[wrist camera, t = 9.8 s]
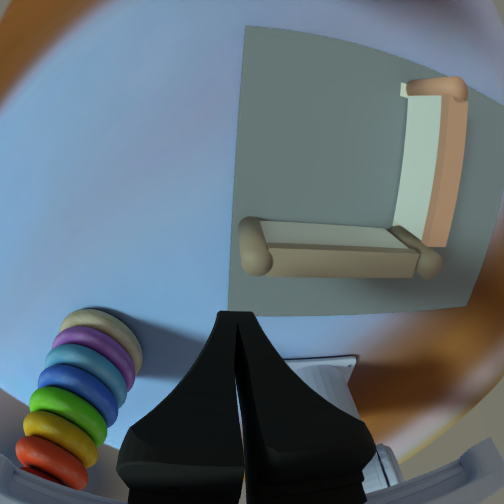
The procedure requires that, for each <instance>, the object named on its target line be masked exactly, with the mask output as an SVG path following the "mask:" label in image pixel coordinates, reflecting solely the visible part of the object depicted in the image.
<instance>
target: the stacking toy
mask: <svg viewBox="0 0 504 504" xmlns="http://www.w3.org/2000/svg"><path fill="white" fill-rule="evenodd" d="M142 363H143V353H142V349H141V346H140V343H139V341H138V340H137V338H136V336H135V335H134V334H133V332H132V331H131V330H130V329H129V328H128V327H127V326H126V325H125V324H124V323H122V322H121V321H120V320H118V319H117V318H115V317H113V316H112V315H109V314H107V313H105V312H102V311H99V310H93V309H82V310H77V311H74V312H72V313H71V314H69V315H68V316H67V317H66V318H65V319H64V320H63V322H62V324H61V326H60V331H59V334H58V335H57V336H56V338H55V340H54V342H53V346H52V350H51V351H50V352H49V353H48V355H47V357H46V360H45V370H44V371H43V372H42V373H41V374H40V376H39V380H38V389H37V390H36V391H35V392H34V393H33V394H32V396H31V398H30V404H29V405H30V410H31V413H29V414H28V415H27V416H26V417H25V419H24V425H23V426H24V431H25V434H26V436H24V437H22V438H21V439H19V440H18V442H17V444H16V454H17V457H18V459H19V460H20V462H22V464H23V465H24V466H25V467H21V468H19V469H22V470H24V471H26V472H29V473H31V474H33V475H36V476H38V477H41V478H43V479H46V480H49V481H51V482H54V483H57V484H60V485H63V486H66V487H69V488H72V489H75V490H81V489H82V488H84V487H85V486H86V485H87V483H88V473H87V470H86V468H88V467H91V466H92V465H94V464H95V462H96V461H97V458H98V451H97V447H98V446H100V445H101V444H102V443H103V442H104V441H105V439H106V436H107V428H109V427H110V426H112V425H113V424H114V422H115V421H116V419H117V416H118V409H119V408H120V407H121V406H122V405H123V404H124V402H125V400H126V397H127V392H129V391H130V389H131V388H132V386H133V384H134V381H135V376H136V375H137V374H138V373H139V371H140V369H141V367H142Z"/></svg>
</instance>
